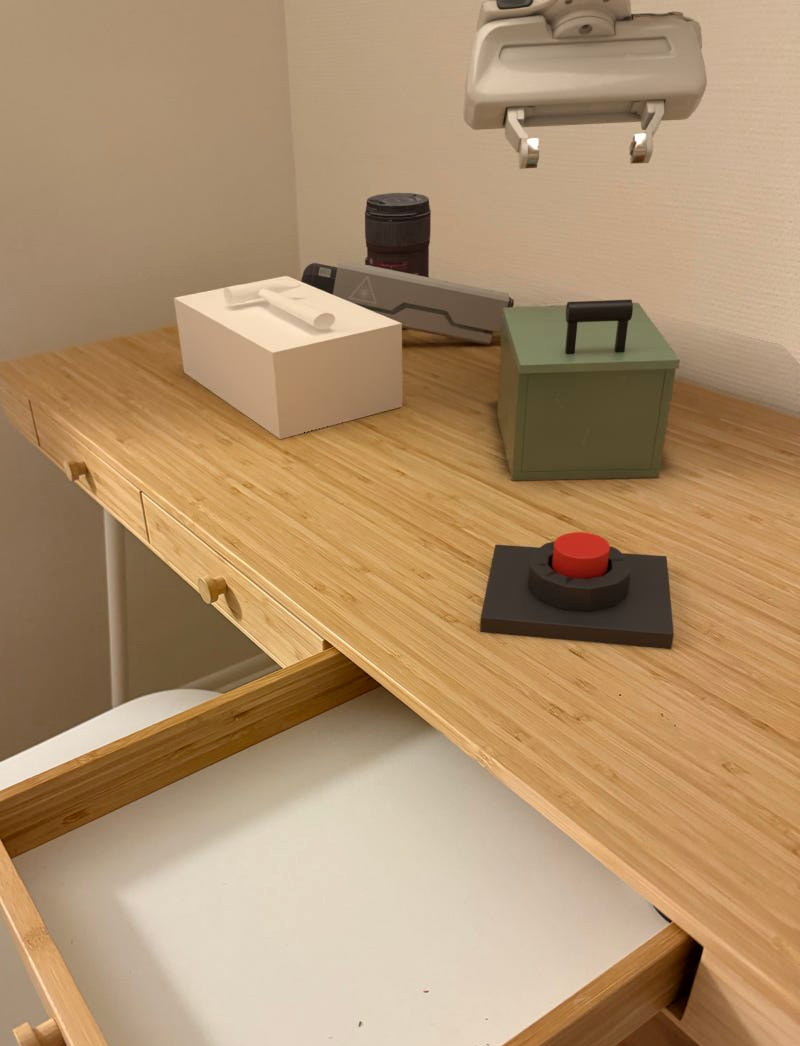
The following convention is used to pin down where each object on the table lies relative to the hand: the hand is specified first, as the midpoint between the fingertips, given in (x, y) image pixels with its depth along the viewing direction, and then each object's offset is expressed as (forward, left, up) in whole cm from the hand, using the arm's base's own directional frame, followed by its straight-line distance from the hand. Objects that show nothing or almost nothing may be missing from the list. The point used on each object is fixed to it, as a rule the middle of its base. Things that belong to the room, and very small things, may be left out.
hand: (585, 161), depth 81 cm
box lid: (+1, +6, -13) cm, 15 cm away
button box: (+10, +34, -23) cm, 42 cm away
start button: (+10, +34, -20) cm, 40 cm away
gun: (+11, -28, -23) cm, 38 cm away
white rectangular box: (+26, -16, -23) cm, 39 cm away
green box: (+1, +6, -23) cm, 24 cm away
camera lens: (+10, -37, -23) cm, 45 cm away
